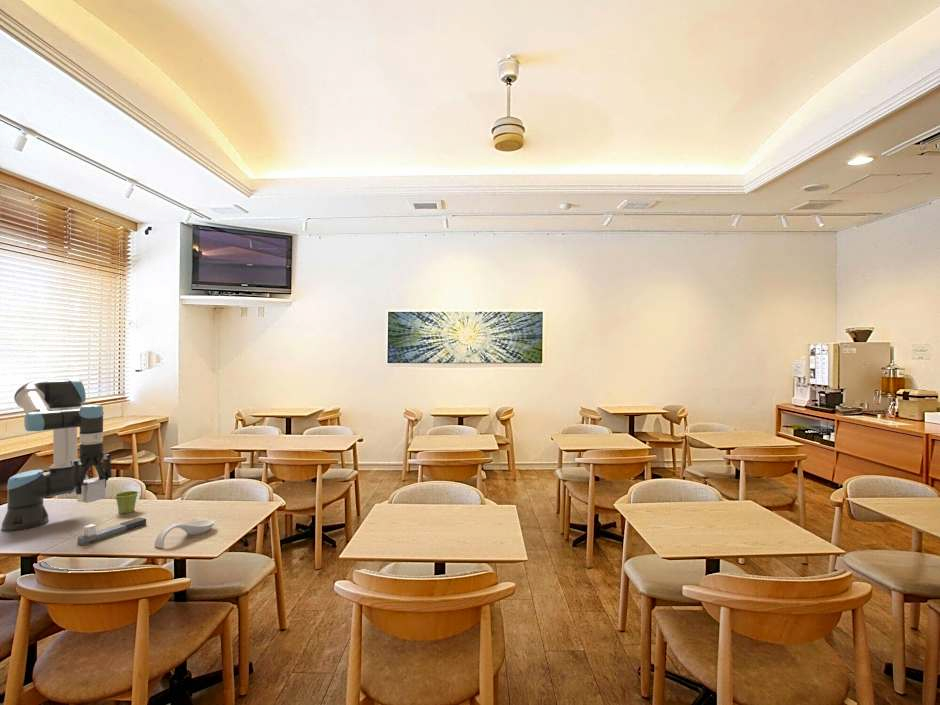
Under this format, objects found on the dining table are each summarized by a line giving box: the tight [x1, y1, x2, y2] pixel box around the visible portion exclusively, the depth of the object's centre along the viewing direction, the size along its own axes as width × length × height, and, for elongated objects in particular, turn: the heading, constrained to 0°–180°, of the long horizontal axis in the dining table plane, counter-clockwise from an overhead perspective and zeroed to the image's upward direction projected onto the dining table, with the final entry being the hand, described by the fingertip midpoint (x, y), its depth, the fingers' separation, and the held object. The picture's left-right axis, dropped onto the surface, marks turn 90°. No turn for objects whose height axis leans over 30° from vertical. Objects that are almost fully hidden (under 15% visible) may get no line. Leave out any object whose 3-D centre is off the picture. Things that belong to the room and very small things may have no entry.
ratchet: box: [77, 516, 147, 546], centre depth 196 cm, size 24×5×6 cm, turn 158°
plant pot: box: [114, 490, 139, 514], centre depth 223 cm, size 9×9×9 cm
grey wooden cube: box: [76, 477, 106, 504], centre depth 188 cm, size 6×6×8 cm
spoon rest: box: [153, 519, 215, 549], centre depth 193 cm, size 24×12×7 cm, turn 160°
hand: (91, 498), depth 188 cm, fingers closed on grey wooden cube, 6 cm apart
